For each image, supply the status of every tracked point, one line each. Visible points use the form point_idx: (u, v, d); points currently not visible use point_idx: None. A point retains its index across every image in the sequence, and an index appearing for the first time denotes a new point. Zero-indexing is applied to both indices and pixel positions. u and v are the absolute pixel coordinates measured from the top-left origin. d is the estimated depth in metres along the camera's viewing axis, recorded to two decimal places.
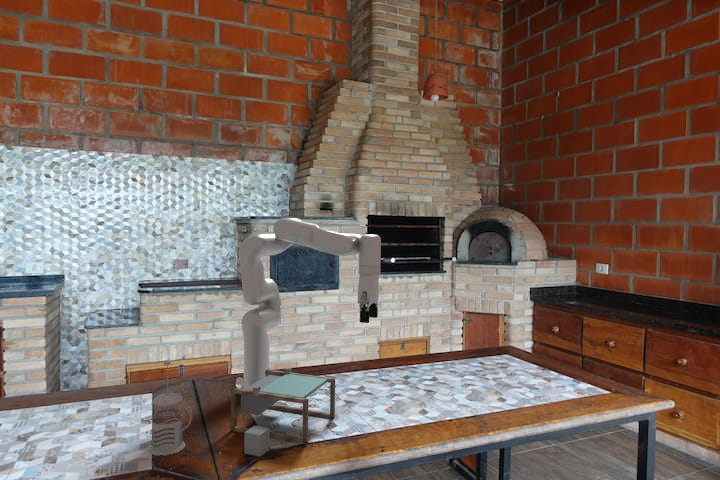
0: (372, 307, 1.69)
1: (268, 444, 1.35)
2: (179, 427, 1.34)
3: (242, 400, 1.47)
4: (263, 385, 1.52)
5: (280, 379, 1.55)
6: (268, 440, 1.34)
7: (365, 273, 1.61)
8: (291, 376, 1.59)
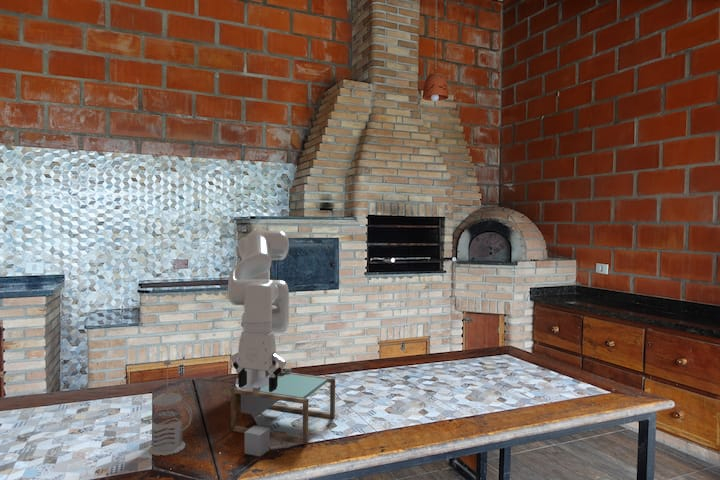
0: (243, 373, 1.34)
1: (268, 444, 1.35)
2: (179, 427, 1.34)
3: (242, 400, 1.47)
4: (263, 385, 1.52)
5: (280, 379, 1.55)
6: (268, 440, 1.34)
7: (269, 331, 1.31)
8: (291, 376, 1.59)
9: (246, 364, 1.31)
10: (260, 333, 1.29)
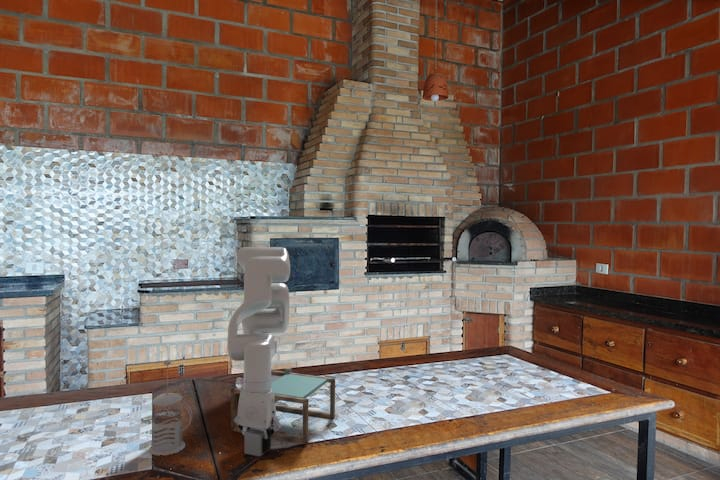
0: None
1: None
2: (179, 427, 1.34)
3: None
4: None
5: (280, 379, 1.55)
6: None
7: (268, 389, 1.32)
8: (291, 376, 1.59)
9: (245, 422, 1.31)
10: (259, 392, 1.30)
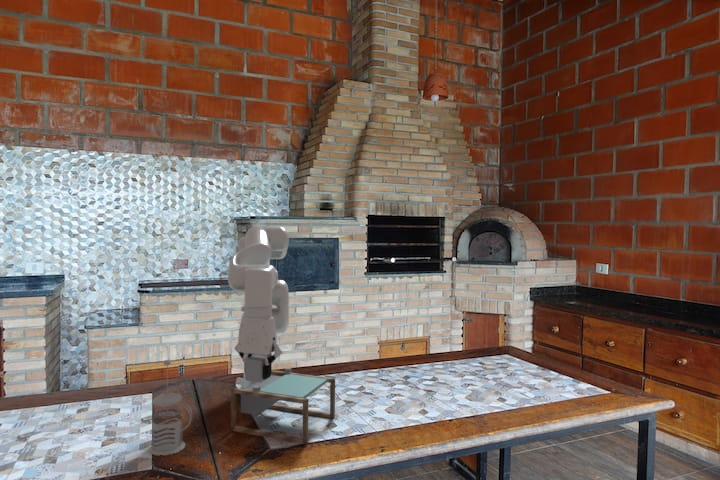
0: None
1: None
2: (179, 427, 1.34)
3: (242, 400, 1.47)
4: (263, 385, 1.52)
5: (280, 379, 1.55)
6: None
7: (269, 315, 1.31)
8: (291, 376, 1.59)
9: (246, 348, 1.31)
10: (260, 318, 1.29)
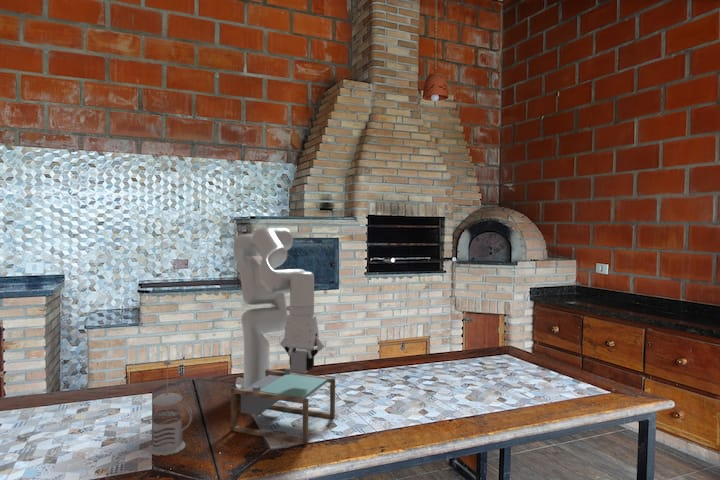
0: None
1: None
2: (179, 427, 1.34)
3: (242, 400, 1.47)
4: (263, 385, 1.52)
5: (280, 379, 1.55)
6: None
7: (312, 314, 1.48)
8: (291, 376, 1.59)
9: (292, 343, 1.47)
10: (305, 316, 1.46)
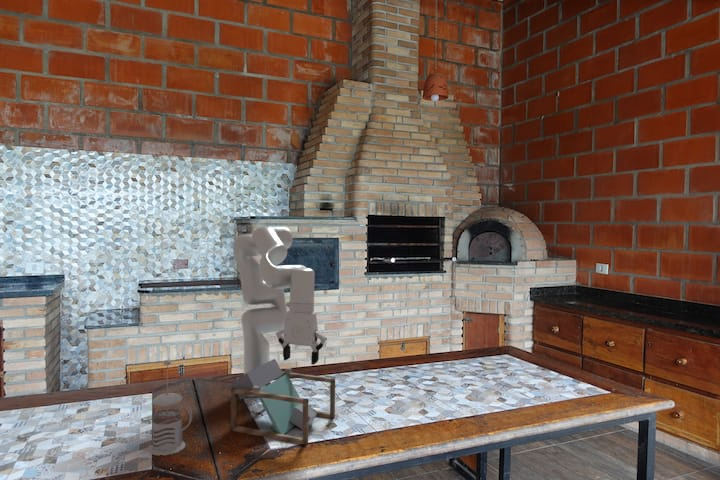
0: (287, 348, 1.51)
1: None
2: (179, 427, 1.34)
3: (240, 378, 1.47)
4: (264, 377, 1.52)
5: (279, 381, 1.56)
6: None
7: (312, 311, 1.48)
8: (288, 382, 1.60)
9: (291, 339, 1.48)
10: (304, 312, 1.46)
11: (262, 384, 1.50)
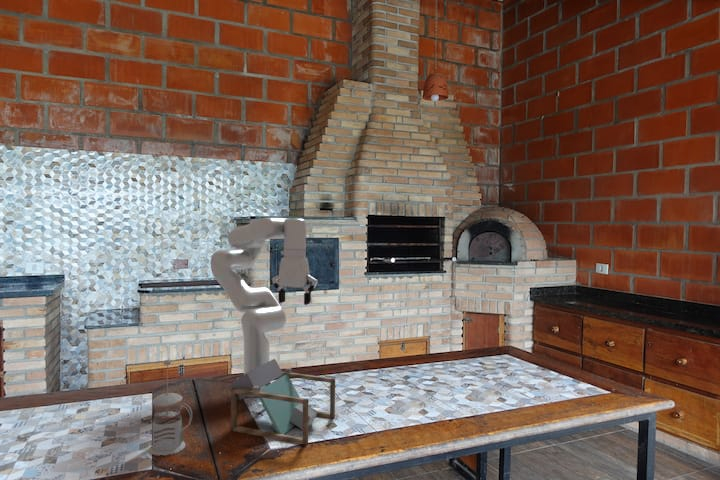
0: (282, 292, 1.67)
1: None
2: (179, 427, 1.34)
3: (240, 378, 1.47)
4: (264, 377, 1.52)
5: (279, 381, 1.56)
6: None
7: (304, 256, 1.64)
8: (288, 382, 1.60)
9: (285, 282, 1.63)
10: (297, 257, 1.62)
11: (262, 384, 1.50)
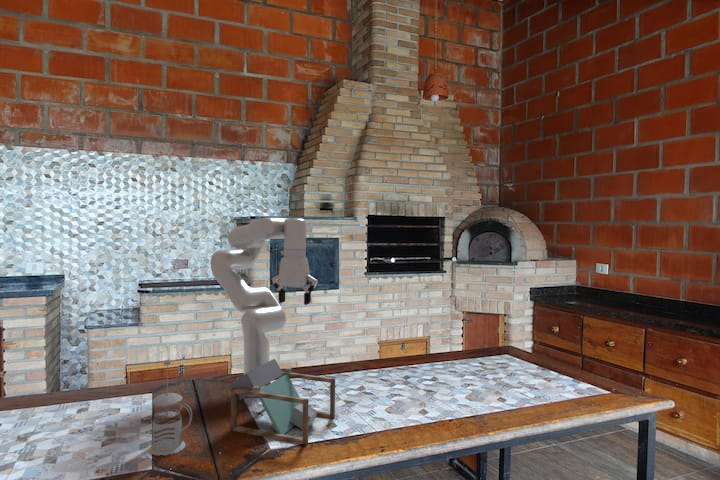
0: (282, 292, 1.67)
1: None
2: (179, 427, 1.34)
3: (240, 378, 1.47)
4: (264, 377, 1.52)
5: (279, 381, 1.56)
6: None
7: (304, 256, 1.64)
8: (288, 382, 1.60)
9: (285, 282, 1.63)
10: (297, 257, 1.62)
11: (262, 384, 1.50)
